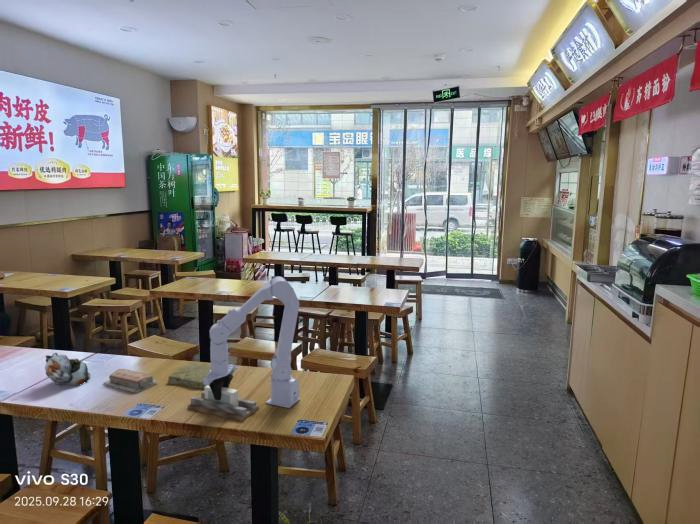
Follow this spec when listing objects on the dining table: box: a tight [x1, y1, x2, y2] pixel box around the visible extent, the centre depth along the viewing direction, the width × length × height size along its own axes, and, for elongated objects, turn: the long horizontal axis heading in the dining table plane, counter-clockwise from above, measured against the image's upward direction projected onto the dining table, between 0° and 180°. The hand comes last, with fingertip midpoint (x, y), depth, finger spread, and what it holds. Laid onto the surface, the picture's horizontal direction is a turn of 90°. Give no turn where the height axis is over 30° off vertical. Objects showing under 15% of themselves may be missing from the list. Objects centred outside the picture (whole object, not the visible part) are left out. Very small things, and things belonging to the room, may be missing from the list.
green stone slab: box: [167, 361, 235, 389], centre depth 187 cm, size 19×20×4 cm
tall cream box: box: [203, 385, 239, 407], centre depth 161 cm, size 12×3×6 cm, turn 67°
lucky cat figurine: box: [44, 352, 91, 386], centre depth 180 cm, size 15×12×14 cm
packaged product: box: [102, 368, 158, 394], centre depth 180 cm, size 18×5×10 cm
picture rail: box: [187, 390, 260, 422], centre depth 161 cm, size 22×10×3 cm, turn 67°
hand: (220, 397), depth 161 cm, fingers closed on tall cream box, 3 cm apart
